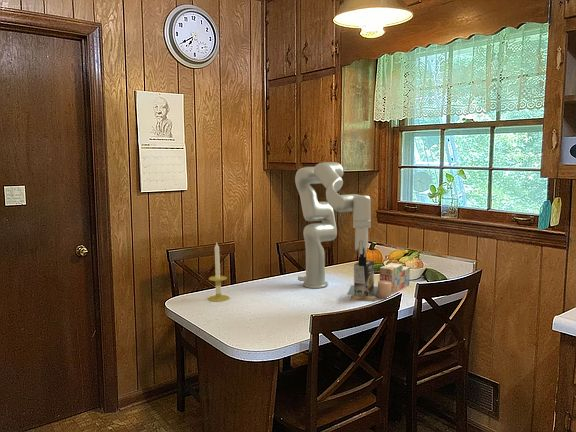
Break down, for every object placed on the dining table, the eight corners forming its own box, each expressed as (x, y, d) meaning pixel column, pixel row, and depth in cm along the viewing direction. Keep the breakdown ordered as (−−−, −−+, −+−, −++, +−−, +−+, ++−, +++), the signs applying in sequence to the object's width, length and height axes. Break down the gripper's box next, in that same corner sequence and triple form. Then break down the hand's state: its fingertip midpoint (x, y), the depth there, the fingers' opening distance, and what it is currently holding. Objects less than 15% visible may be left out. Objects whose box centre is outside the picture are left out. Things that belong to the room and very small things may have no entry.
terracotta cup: (376, 298, 220) (377, 283, 218) (377, 293, 226) (378, 279, 224) (390, 299, 218) (391, 285, 217) (390, 295, 224) (391, 280, 223)
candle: (214, 294, 231) (212, 239, 228) (233, 296, 228) (231, 240, 225) (203, 300, 222) (201, 243, 219) (223, 302, 219) (221, 244, 215)
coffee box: (366, 300, 218) (366, 265, 215) (353, 298, 221) (353, 264, 219) (374, 294, 226) (374, 260, 223) (361, 292, 229) (361, 259, 226)
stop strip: (350, 300, 218) (350, 296, 218) (350, 299, 220) (350, 295, 219) (375, 301, 216) (375, 297, 216) (375, 300, 217) (375, 296, 217)
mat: (347, 294, 227) (347, 294, 227) (351, 286, 242) (351, 285, 242) (381, 296, 223) (381, 295, 223) (383, 287, 239) (383, 286, 238)
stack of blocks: (397, 283, 246) (398, 259, 244) (409, 285, 242) (410, 261, 240) (378, 292, 229) (379, 267, 227) (391, 294, 225) (392, 269, 223)
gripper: (355, 222, 216) (355, 262, 218) (351, 226, 202) (351, 269, 204) (372, 222, 214) (372, 262, 216) (369, 226, 200) (369, 269, 202)
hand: (362, 265), depth 210 cm, fingers closed
